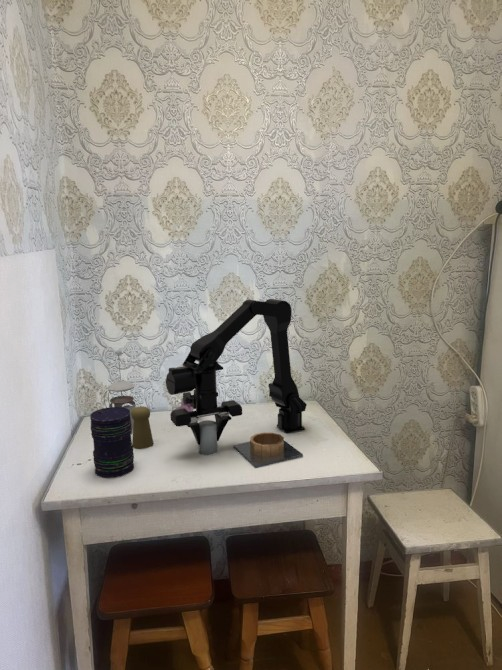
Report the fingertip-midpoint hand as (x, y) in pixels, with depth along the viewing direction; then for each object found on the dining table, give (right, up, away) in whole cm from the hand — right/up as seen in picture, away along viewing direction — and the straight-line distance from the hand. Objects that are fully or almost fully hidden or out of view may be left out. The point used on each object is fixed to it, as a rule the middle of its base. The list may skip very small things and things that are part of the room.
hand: (207, 442), depth 137 cm
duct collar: (+16, -2, -1) cm, 16 cm away
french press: (-28, 0, +18) cm, 33 cm away
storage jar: (-23, -5, -9) cm, 25 cm away
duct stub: (0, -3, +1) cm, 2 cm away
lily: (-8, +2, +24) cm, 25 cm away
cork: (-19, -2, +6) cm, 20 cm away
